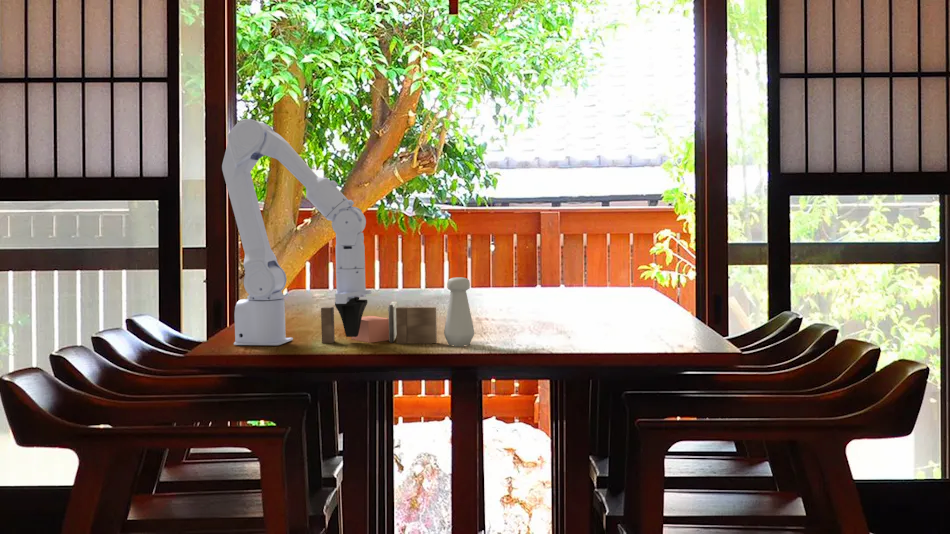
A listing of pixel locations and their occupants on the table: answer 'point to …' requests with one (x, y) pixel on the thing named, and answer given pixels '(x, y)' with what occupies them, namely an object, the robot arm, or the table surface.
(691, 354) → the table surface
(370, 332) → the block
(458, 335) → the salt shaker
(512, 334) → the table surface
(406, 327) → the frame
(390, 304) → the door
